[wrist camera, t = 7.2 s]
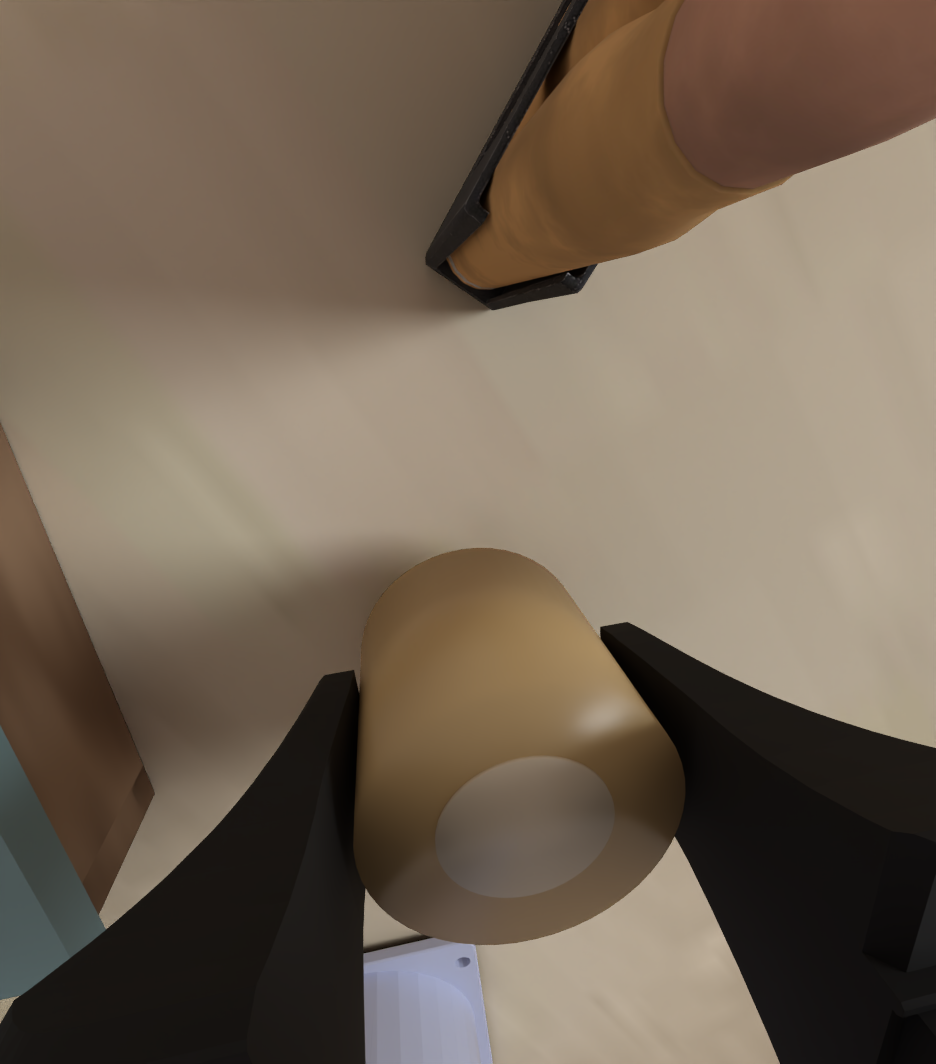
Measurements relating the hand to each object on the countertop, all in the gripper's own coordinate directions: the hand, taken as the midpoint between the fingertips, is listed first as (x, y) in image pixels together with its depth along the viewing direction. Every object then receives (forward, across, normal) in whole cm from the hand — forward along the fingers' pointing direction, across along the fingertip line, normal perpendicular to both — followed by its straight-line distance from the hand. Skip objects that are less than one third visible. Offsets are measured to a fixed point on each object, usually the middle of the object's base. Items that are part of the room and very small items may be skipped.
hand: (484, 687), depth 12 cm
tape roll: (+2, 0, 0) cm, 2 cm away
